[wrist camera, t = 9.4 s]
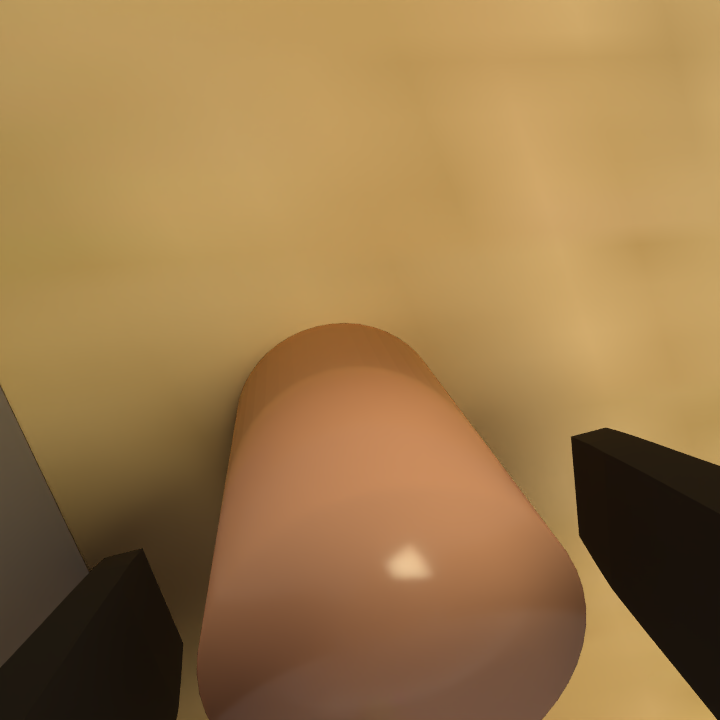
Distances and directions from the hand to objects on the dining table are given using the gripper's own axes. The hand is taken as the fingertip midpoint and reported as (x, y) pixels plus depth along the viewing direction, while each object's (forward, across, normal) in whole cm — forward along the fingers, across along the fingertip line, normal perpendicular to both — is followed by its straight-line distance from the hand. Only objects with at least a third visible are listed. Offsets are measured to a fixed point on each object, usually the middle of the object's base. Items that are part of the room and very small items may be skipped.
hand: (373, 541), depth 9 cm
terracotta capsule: (+5, 0, 0) cm, 5 cm away
